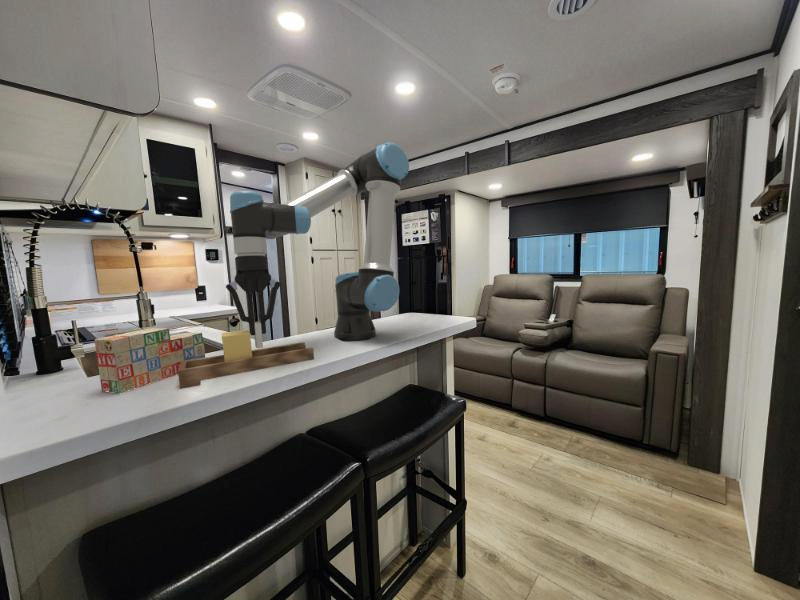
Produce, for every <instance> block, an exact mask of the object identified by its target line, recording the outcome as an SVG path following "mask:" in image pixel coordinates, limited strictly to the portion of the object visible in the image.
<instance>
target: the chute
mask: <svg viewBox="0 0 800 600" xmlns="http://www.w3.org/2000/svg"><path fill="white" fill-rule="evenodd" d="M314 355H315V354H314V347H306V342H305V341H303V342H298V343H290V344H284V345H278V346H272V347H271V346H269V347H265V348H264V347H263V348H256V349H253V350H252V357H251V358H245V359H239V360H233V361H227V362H225V361H224V354H221V355H220V354H219V355H215V356H209V357H208V356H207V357H206V356H205V358H200V359H194V360H187V361H181V363H180V366H179V369H178V374H177V375H178V376H177V377H178V383H179V389H186V388H190V387H196V386H200V385H201V383H202V382H201V381H206V380H211V379H217V378H221V377H227V376H232V375H236V374H238V375H239V374H243V373H248V372H252V371H253V372H254V371H259V370H265V369H270V368H275V367H280V366H285V365H290V364H296V363H301V362H306V361H307V362H308V361H312V360H314V359H315V356H314Z"/></svg>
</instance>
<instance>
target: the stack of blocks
mask: <svg viewBox="0 0 800 600" xmlns="http://www.w3.org/2000/svg"><path fill="white" fill-rule="evenodd" d="M170 334H171V332H170V329H169V327H166V328H163V327H162V328H159V327H158V328H157V327H156V328H153V327H151V328H145V329H141V330H133V331H130V332H129V331H128V332H126V333H121V334H120V333H119V334H114V335H111V336H104V337H100V338H94V345H95V358H96V363H97V367H98V374H99V378H100V379H99V381H100V386H101V387H100V388H101V392H102V391H109V392H115V393H114V394H118V393H122V394H124V393H123V392H125V393H127V392H129V391H128V390H130V391H132V390H131V389H133V390H135V389H134V388H137V387H140V386H143V385H145V386H147V385H146V384H148V385H150V384H149V383H151V384H153V382H154V383H157V382H160V381H162V379H163V380H165V378H166V379H167V378H168V377H169V378H171V377H174V376H177V375H178V369H179V366H180V363H181V361H187V360H194V359H200V358H206V350H205V343H204V337H203V332H181V333H178V334H173V335H172V334H171V335H170ZM176 374H177V375H176ZM159 380H160V381H159ZM156 381H157V382H156ZM143 387H144V386H143ZM140 388H141V387H140ZM137 389H138V388H137ZM126 391H127V392H126Z"/></svg>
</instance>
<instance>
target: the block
mask: <svg viewBox="0 0 800 600" xmlns="http://www.w3.org/2000/svg"><path fill="white" fill-rule="evenodd" d="M251 338H252V337H251V334H250V331H249V330H248V329H244V330H235V331H227V332H222V333H221V340H222V352H223V355H224V361H225V362H227V361H233V360H239V359H245V358H251V357H252V340H251Z"/></svg>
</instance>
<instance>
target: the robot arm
mask: <svg viewBox="0 0 800 600" xmlns="http://www.w3.org/2000/svg"><path fill="white" fill-rule="evenodd" d="M409 163H410V162H409V159H408V156H407V154H406V153H405V151H404V149H403V148H402V147H401V146H400V145H398V144H396V143H395V142H389V141H388V142H385V143H382V144H379V145H377V147H376V148H375V147H374V149H371V150H370V151H367V152H366V153H364V154H361V155H360V156H359V157H357V158H356V159H355V160H354V161H352V162H351V163H349V164H348V165H347V166H345V167H344V168H342V169H340V170H338V172H337V175H335V176H333V177H331V178H330V179H327V180H326V181H324V182H322V183H320V184H318V185H316V186H314V187H313V188H311V189H308V190H307V191H305V192H303V193H301V194H299V195H298V196H296V197H293V198H292V199H290V200H288V201H286V202H285V203H283V204H282V203H271V202H266V201H264V198H263V195H262V194H261V193H259V192H255V191H252V190H239V191H234V192H232V193H231V194H230V196H229V206H230V208H229V213H230V219H231V227H232V238H233V239H232V240H233V252H234V253H233V254H235V255H236V256H235V258H234V263H235V276H234V280H233V281H231V282H229V283H228V284H226V285H225V288H226V290H227V291H228V292H229V293H230V295H231V297H232V300H233V302H234V305H235V308H236V310H237V314H238V316H239V319H240V320H241V321H242V322H244V323H248V329H249V330H248V331H249V332H250V337H251V336H252V337H253V336H254V343H255V344H254V345H255V347H256V349H264V344H263V343H264V341H263V335H265V334H267V325H266V322H267V321H268V320H270V319H273V316H274V310H275V305H276V299H277V294H278V293H277V292H278V291H279V288H280V286H281V284H282V283H281V282H280V281H277V280H275V279H273V278H272V275H271V274H270V271H269V262H268V257H267V255H266V254H267V253H268V247H267V240H274V239H277V238H279V237H283V236H286V235H291V234H295V235H303V234H307V233H309V232H310V229H311V225H312V219H311V218H313V217H314V216H317V215H318V214H320V213H322V212H323V211H325V210H327V209H329V208H330V207H332V206H334V205H336V204H337V203H339V202H341V201H342V200H345V199H346V198H347V197H351V198H353V197H356V196H357V195H359V194H361V193H363V192H367V191H368V192H369V195H368V206H367V221H366V231H365V245H364V246H365V247H364V259H363V264H362V265H361V266H360V267H359V268H358V271H355V272H346V273H341V274H339V275H337V276H336V278H335V285H334V287H335V296H336V308H337V320H336V323H335V327H334V330H333V334H334V335H333V338H335V339H338V341H341V340H342V341H344V342H352V341H363V339H364V340H367V338H369V339H371V337H372V338H374V337H376V336H377V330H376V327H375V325H374V322H373V319H372V316H371V312H377V313H378V312H386V311H389V310H390V309H392V308H393V306H395V305H396V303H397V301H398V299H399V296H400V285H399V283H398V280H397V279H396V278H395V277H394V273H395V271H394V270H393V268H392V267H391V257H392V245H393V243H392V242H393V241H392V240H393V228H394V218H395V217H394V216H395V214H394V213H395V202H396V195H397V194H398V193H399V192H400V191H401V184H402V180H403V179H404V178H406V176H407V175H408V174H409V170H410V164H409ZM237 285H238V286H239V287H240V288H241V289H242V290H243V292H244V293H245V297H246V309H247V316H246V313H245V311H244V307H243V306H242V301H241V299H240V297H239V294H238V293H237V290H238V287H237ZM268 285H269V287H270V292H269V297H268V304H267V309H266V310H265V297H264V296H265V295H264V291H265V289H266V288H267V287H268ZM254 292H256V298H257V309H258V310H257V311H258V319H259V320H258V321H255V311H254V310H255V309H254V308H255V307H254V300H253V293H254ZM370 311H371V312H370ZM375 335H376V336H375ZM373 336H374V337H373Z"/></svg>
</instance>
